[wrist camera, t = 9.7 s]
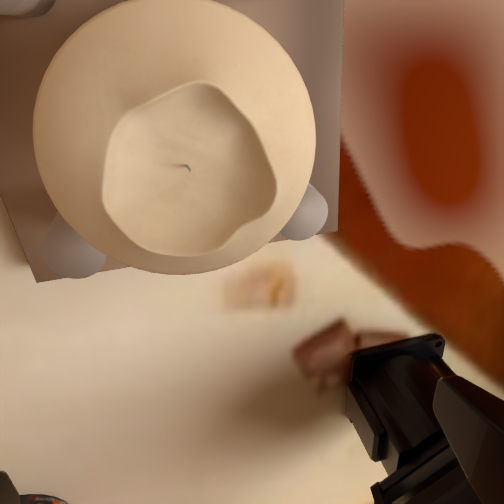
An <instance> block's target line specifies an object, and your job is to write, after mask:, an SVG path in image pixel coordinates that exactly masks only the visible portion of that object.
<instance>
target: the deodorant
mask: <svg viewBox="0 0 504 504" xmlns="http://www.w3.org/2000/svg"><path fill="white" fill-rule="evenodd" d="M19 497H20V504H68V503H66V502H65V501H63V500H61V499H58V498H56V497H52V496H47V495H31V494H30V495H21V496H19Z"/></svg>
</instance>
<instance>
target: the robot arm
mask: <svg viewBox="0 0 504 504" xmlns="http://www.w3.org/2000/svg"><path fill="white" fill-rule="evenodd" d="M444 347H445V340H444V339H443V337H442V336H441V335H432V336H428V337H423V338H419V339H414V340H409V341H405V342H400V343H396V344H391V345H387V346H382V347H378V348H373V349H369V350H364V351H359V352H356V353H355V354H353V355H352V357H351V364H350V381H349V382H348V384H347V391H346V411H347V413H348V415H347V416H348V419H349V420H350V422H351V423H353V425H354V427H355V429H356V431H357V433H358V435H359V437H360V439H361V441H362V443H363V445H364V447H365V449H366V451H367V453H368V455H369V456H370V458H371V460H373V461H374V462H378V461H381V462H382V464H383V466H384V468H385V470H386V472H387V474H388V477H387V478H385V479H384V480H382V481H381V482H380V483H379V482H377V483H375V484H374V485H372V486H371V487H370V488H371V492H372V495H373V498H374V501H375V502H374V504H504V401H503V400H502V399H500V398H498V397H496V396H494V395H493V394H491V393H489V392H487V391H486V390H484V389H482V388H480V387H479V386H477V385H475V384H473V383H471V382H470V381H468V380H466V379H464V378H463V377H461V376H458V375H456V374H455V373H454V372H453V371H452V369H451V368H450V367H449V366H448V365H447V364H446V363H445V362H444V360H443V359H442V356H443V352H444ZM359 359H360V360H359ZM0 504H20V497H19V494H18V492H17V490H16V488H15V487H14V485H13V483H12V481H11V480H10V478H9V476H8V474H7V473H6V472H4V471H0Z"/></svg>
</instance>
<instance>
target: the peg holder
mask: <svg viewBox="0 0 504 504" xmlns="http://www.w3.org/2000/svg"><path fill="white" fill-rule="evenodd" d="M125 1H128V0H0V194H1V197H2V199H3V201H4V204H5V206H6V209H7V211H8V214H9V216H10V219H11V221H12V223H13V226H14V228H15V231H16V233H17V236H18V238H19V241H20V243H21V245H22V248H23V250H24V253H25V255H26V258H27V260H28V263H29V265H30V267H31V270H32V272H33V275H34V277H35V280H36V282H37V283H38V282H44V281H50V280H56V279H62V278H74V279H79V278H85V277H89V276H91V275H93V274H95V273H96V272H102V271H108V270H114V269H120V268H126V267H131V266H128V265H126V264H123V263H120V262H118V261H116V260H114V259H113V258H111V257H109V256H107V255H105V254H103V253H102V252H100V251H99V250H97V249H96V248H94V247H93V246H91V245H90V244H89V243H88V242H86V241H85V240H84V239H83V238H82V237H81V236H79V235H78V234H77V233H76V232H75V231H74V230H73V228H72V227H71V226H70V225H69V224H68V223H67V222H66V221H65V220H64V218H63V217H62V215H61V214H60V213H59V211H58V210H57V208H56V207H55V206H54V204H53V202H52V200H51V198H50V196H49V195H48V193H47V191H46V189H45V186H44V184H43V181H42V178H41V176H40V173H39V170H38V166H37V162H36V157H35V153H34V143H33V114H34V108H35V103H36V98H37V93H38V90H39V88H40V85H41V82H42V79H43V77H44V74H45V72H46V70H47V68H48V66H49V65H50V63H51V61H52V59H53V57H54V56H55V54H56V53H57V52H58V50H59V49H60V48H61V46H62V45H63V44H64V43H65V41H66V40H67V39H68V38H69V37H70V36H71V35H72V34H73V33H74V32H75V31H76V30H77V29H78V28H79V27H80V26H82V25H83V24H84V23H85V22H87V21H88V20H90V19H91V18H93V17H94V16H96V15H97V14H99V13H100V12H102V11H104V10H106V9H108V8H110V7H113V6H115V5H117V4H119V3H121V2H125ZM212 1H215V2H218V3H220V4H223V5H226V6H229V7H230V8H232V9H234V10H236V11H238V12H240V13H242V14H244V15H246V16H247V17H249V18H250V19H252V20H253V21H254V22H256V23H257V24H259V25H260V26H261V27H263V28H264V29H265V30H266V31H267V32H268V33H269V34H270V35H271V36H272V37H273V38H274V39H275V40H276V41H278V43H279V44H280V45H281V46H282V48H283V49H284V50H285V51H286V53H287V54H288V55H289V56H290V58H291V59H292V61H293V63H294V64H295V66H296V68H297V69H298V71H299V73H300V75H301V77H302V79H303V82H304V84H305V86H306V88H307V91H308V94H309V98H310V101H311V104H312V108H313V114H314V120H315V129H316V148H315V159H314V164H313V169H312V173H311V177H310V180H309V183H308V186H307V189H306V192H305V194H304V196H303V198H302V200H301V202H300V204H299V206H298V207H297V209H296V211H295V212H294V214H293V215H292V217H291V218H290V220H289V221H288V222H287V223H286V225H285V226H284V227H283V228H282V229H281V231H280V232H279V233H278V234H277V235H276V236H275V237H273V238H272V239H271V240H270V241H269V242H268V243H271V242H277V241H282V240H288V239H290V240H305V239H308V238H310V237H312V236H314V235H317V234H323V233H329V232H335V231H337V227H338V194H339V161H340V127H341V94H342V60H343V59H342V58H343V27H344V0H212Z"/></svg>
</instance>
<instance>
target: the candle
mask: <svg viewBox="0 0 504 504" xmlns="http://www.w3.org/2000/svg"><path fill="white" fill-rule="evenodd" d="M33 143H34V153H35V157H36V162H37V166H38V170H39V173H40V176H41V178H42V181H43V184H44V186H45V189H46V191H47V193H48V195H49V196H50V198H51V200H52V202H53V204H54V206H55V207H56V208H57V210H58V211H59V213H60V214H61V215H62V217H63V218H64V220H65V221H66V222H67V223H68V224H69V225H70V226H71V227H72V228H73V230H74V231H75V232H76V233H77V234H78V235H79V236H81V237H82V238H83V239H84V240H85V241H86V242H88V243H89V244H90V245H91V246H93V247H94V248H96V249H97V250H99V251H100V252H102V253H103V254H105V255H107V256H109V257H111V258H113V259H114V260H116V261H118V262H120V263H123V264H126V265H128V266H131V267H134V268H137V269H141V270H145V271H149V272H153V273H161V274H171V275H187V274H197V273H204V272H208V271H213V270H217V269H220V268H223V267H226V266H229V265H232V264H234V263H236V262H238V261H240V260H243V259H244V258H246V257H248V256H249V255H251V254H253V253H254V252H256V251H258V250H259V249H260V248H262V247H263V246H264V245H265V244H267V243H268V242H269V241H270V240H271V239H272V238H273V237H275V236H276V235H277V234H278V233H279V232H280V231H281V229H282V228H283V227H284V226H285V225H286V223H287V222H288V221H289V220H290V218H291V217H292V215H293V214H294V212H295V211H296V209H297V207H298V206H299V204H300V202H301V200H302V198H303V196H304V194H305V192H306V189H307V186H308V183H309V180H310V177H311V173H312V169H313V164H314V159H315V148H316V129H315V120H314V114H313V108H312V104H311V101H310V98H309V94H308V91H307V88H306V86H305V84H304V82H303V79H302V77H301V75H300V73H299V71H298V69H297V68H296V66H295V64H294V63H293V61H292V59H291V58H290V56H289V55H288V54H287V53H286V51H285V50H284V49H283V48H282V46H281V45H280V44H279V43H278V41H276V40H275V39H274V38H273V37H272V36H271V35H270V34H269V33H268V32H267V31H266V30H265V29H264V28H263V27H261V26H260V25H259V24H257V23H256V22H254V21H253V20H252V19H250V18H249V17H247V16H246V15H244V14H242V13H240V12H238V11H236V10H234V9H232V8H230V7H229V6H226V5H223V4H220V3H218V2H215V1H212V0H128V1H125V2H121V3H119V4H117V5H115V6H113V7H110V8H108V9H106V10H104V11H102V12H100V13H99V14H97V15H96V16H94V17H93V18H91V19H90V20H88V21H87V22H85V23H84V24H83V25H82V26H80V27H79V28H78V29H77V30H76V31H75V32H74V33H73V34H72V35H71V36H70V37H69V38H68V39H67V40H66V41H65V43H64V44H63V45H62V46H61V48H60V49H59V50H58V52H57V53H56V54H55V56H54V57H53V59H52V61H51V63H50V65H49V66H48V68H47V70H46V72H45V74H44V77H43V79H42V82H41V85H40V88H39V90H38V93H37V98H36V103H35V108H34V114H33Z"/></svg>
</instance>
